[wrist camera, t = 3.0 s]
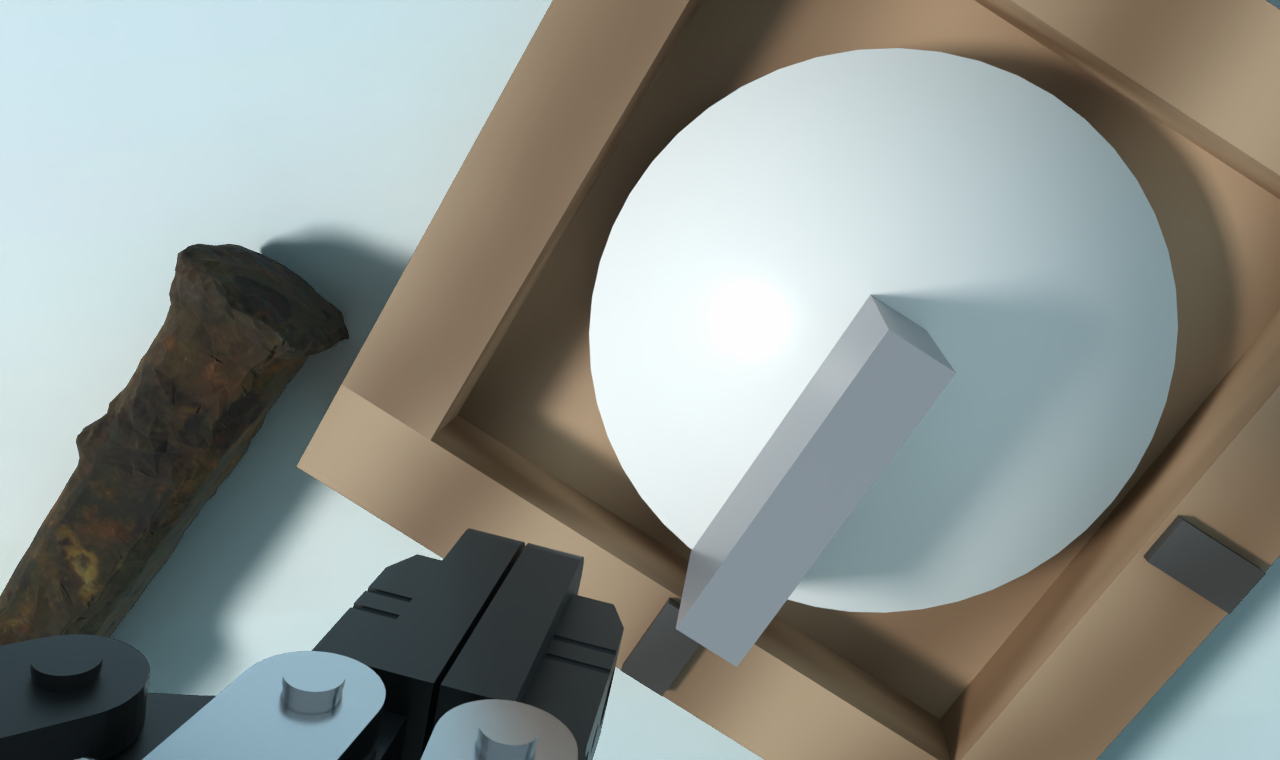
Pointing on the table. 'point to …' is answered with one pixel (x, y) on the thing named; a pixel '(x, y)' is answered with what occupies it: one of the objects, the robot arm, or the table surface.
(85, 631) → the hand tool
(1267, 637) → the table surface
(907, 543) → the dial
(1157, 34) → the wooden frame
